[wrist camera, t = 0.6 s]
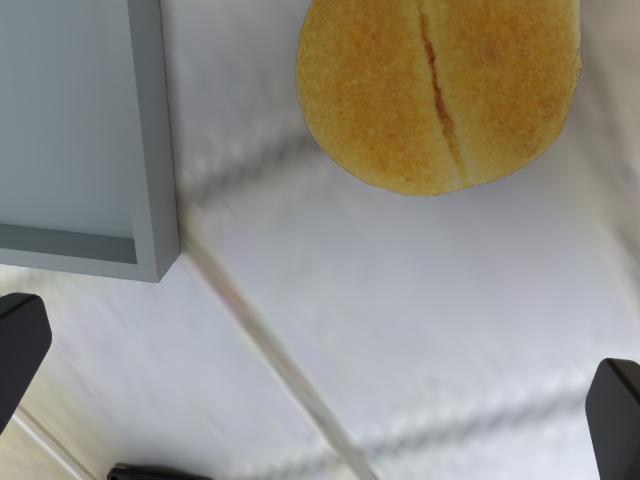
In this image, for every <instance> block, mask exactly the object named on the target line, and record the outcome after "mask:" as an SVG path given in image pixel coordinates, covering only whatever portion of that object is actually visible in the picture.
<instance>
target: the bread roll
mask: <svg viewBox="0 0 640 480" xmlns="http://www.w3.org/2000/svg"><path fill="white" fill-rule="evenodd" d="M580 26H581V25H580V0H313V2H312V4H311V6H310V8H309V10H308V13H307V15H306V17H305V20H304V23H303V26H302V29H301V32H300V38H299V44H298V51H297V61H296V80H295V83H296V88H297V94H298V100H299V103H300V106H301V109H302V113H303V116H304V119H305V122H306V124H307V127H308V129H309V131H310V133H311V134H312V136H313V137H314V139H315V140H316V141H317V143H318V144H319V146H320V147H321V148H322V149H323V150H324V151H325V152H326V153H327V154H328V156H329V157H330V158H331V159H332V160H333V161H335V162H336V163H337V164H339V165H340V166H341V167H342V168H344V169H345V170H346V171H347V172H349V173H350V174H352V175H353V176H355V177H357V178H359V179H360V180H362V181H364V182H365V183H367V184H369V185H372V186H376V187H380V188H383V189H387V190H390V191H393V192H396V193H400V194H403V195H407V196H434V195H439V194H444V193H448V192H453V191H457V190H460V189H463V188H466V187H470V186H475V185H479V184H483V183H487V182H490V181H494V180H497V179H500V178H502V177H504V176H507V175H509V174H512V173H513V172H515V171H516V170H518V169H520V168H521V167H523V166H524V165H526V164H528V163H530V162H531V161H533V160H534V159H536V158H537V157H538V156H539V155H541V154H542V153H543V152H544V151H545V150H546V149H547V148H548V147H549V146H550V145H551V144H552V143H553V141H554V140H555V139H556V138H557V136H558V135H559V134H560V133H561V130H562V127H563V125H564V123H565V120H566V116H567V114H568V112H569V109H570V105H571V101H572V98H573V94H574V91H575V89H576V88H575V86H576V85H577V83H578V78H579V71H580V69H581V66H582V62H581V58H580V52H579V47H580V45H581V34H580Z"/></svg>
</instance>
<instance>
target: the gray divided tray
mask: <svg viewBox="0 0 640 480" xmlns="http://www.w3.org/2000/svg"><path fill="white" fill-rule="evenodd" d="M179 255H180V244H179V232H178V220H177V208H176V196H175V184H174V172H173V160H172V148H171V136H170V124H169V112H168V100H167V88H166V76H165V64H164V52H163V40H162V28H161V16H160V4H159V0H0V264H6V265H14V266H22V267H30V268H38V269H46V270H54V271H62V272H71V273H79V274H87V275H95V276H103V277H111V278H119V279H127V280H135V281H143V282H151V283H159V282H160V280H161V279H162V278H163V276H164V275H165V274H166V272H167V271H168V270H169V268H170V267H171V266H172V264H173V263H174V262H175V260H176V259H177V258H178V256H179Z"/></svg>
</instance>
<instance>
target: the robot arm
mask: <svg viewBox="0 0 640 480" xmlns="http://www.w3.org/2000/svg"><path fill="white" fill-rule="evenodd" d="M51 341H52V332H51V328H50V324H49V320H48V317H47V313H46V309H45V305H44V302H43V300H42V299H41V297H40V296H38V295H36V294H28V293H18V292H16V293H11V294H8V295H5V296H3V297H0V435H1V433H2V432H3V430H4V429H5V427H6V425H7V424H8V422H9V420H10V419H11V417H12V415H13V414H14V412H15V410H16V408H17V406H18V404H19V403H20V401H21V399H22V397H23V395H24V394H25V392H26V390H27V388H28V386H29V385H30V383H31V381H32V379H33V377H34V375H35V374H36V372H37V370H38V368H39V366H40V365H41V363H42V361H43V359H44V357H45V356H46V354H47V352H48V350H49V348H50V345H51ZM585 411H586V417H587V421H588V426H589V430H590V435H591V440H592V444H593V449H594V453H595V458H596V462H597V467H598V471H599V476H600V480H640V365H639V364H638V363H636V362H634V361H631V360H624V359H615V358H606V359H603V360H602V361H601V362H600V364H599V366H598V368H597V371H596V373H595V376H594V378H593V381H592V384H591V386H590V389H589V391H588V394H587V397H586V402H585ZM107 480H191V479H185V478H178V477H172V476H166V475H159V474H153V473H147V472H140V471H134V470H127V469H121V468H112V469H111V470H110V472H109V473H108V475H107Z"/></svg>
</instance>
